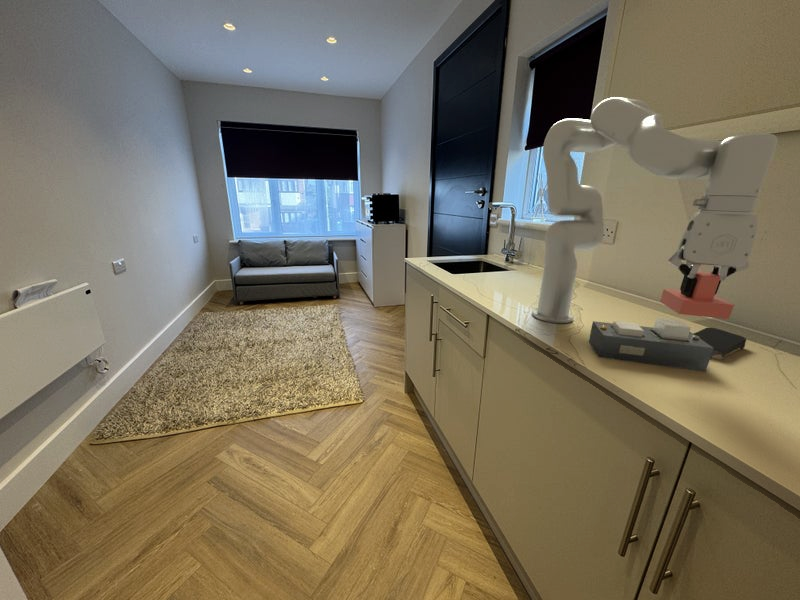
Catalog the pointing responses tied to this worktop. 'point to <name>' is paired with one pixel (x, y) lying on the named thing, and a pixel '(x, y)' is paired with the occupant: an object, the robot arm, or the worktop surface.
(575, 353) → the worktop surface
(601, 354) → the panel
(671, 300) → the cap
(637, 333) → the button
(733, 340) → the black sponge
